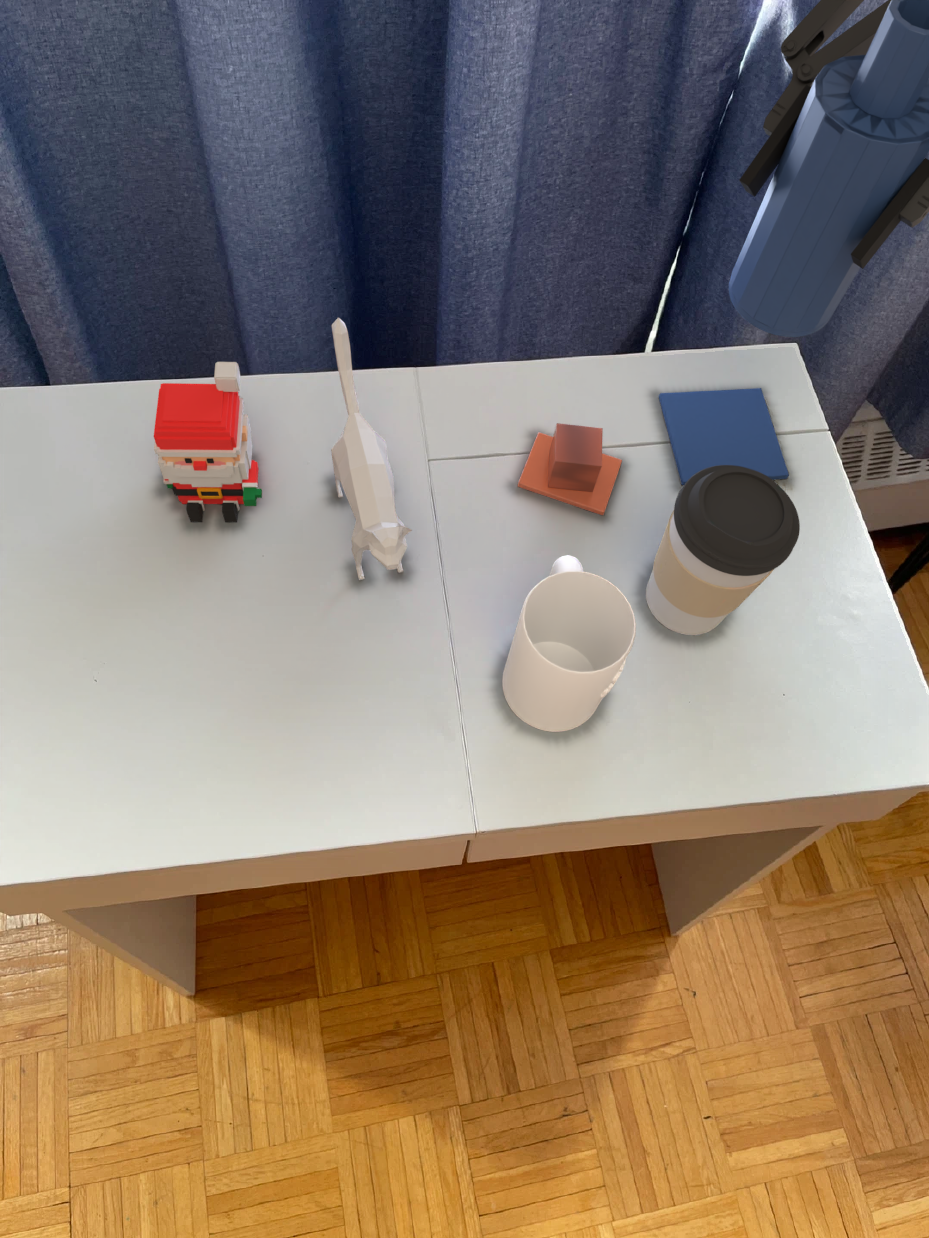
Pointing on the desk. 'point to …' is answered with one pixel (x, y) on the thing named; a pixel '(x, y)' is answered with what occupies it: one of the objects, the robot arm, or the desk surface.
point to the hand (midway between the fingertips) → (801, 224)
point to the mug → (567, 647)
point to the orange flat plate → (594, 501)
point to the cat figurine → (365, 474)
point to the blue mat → (722, 431)
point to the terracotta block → (575, 457)
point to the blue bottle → (837, 177)
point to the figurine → (207, 444)
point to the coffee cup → (719, 546)
